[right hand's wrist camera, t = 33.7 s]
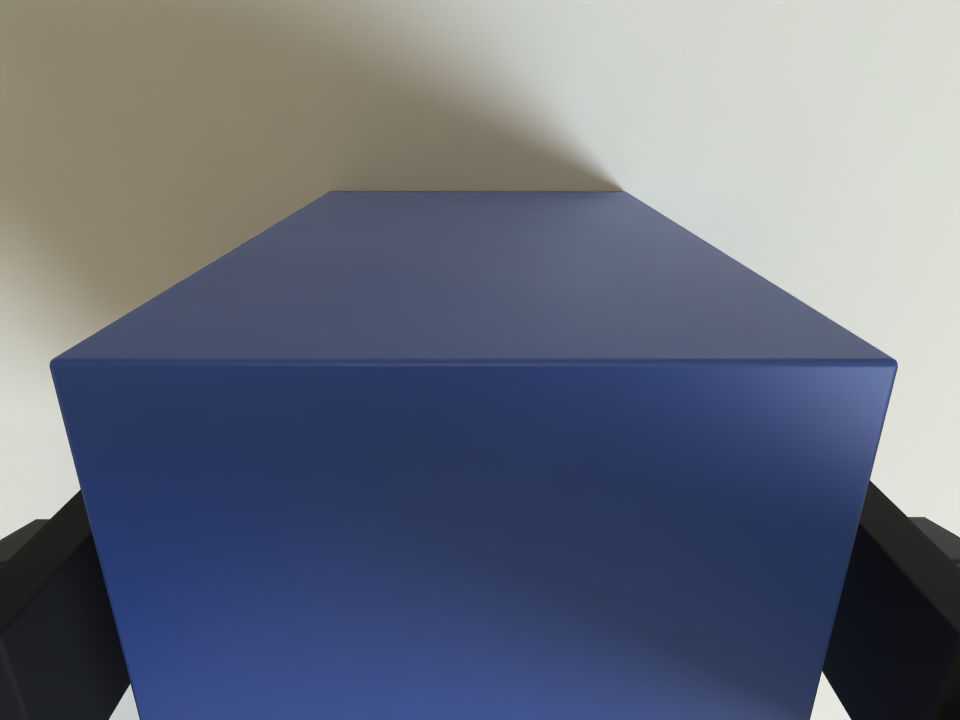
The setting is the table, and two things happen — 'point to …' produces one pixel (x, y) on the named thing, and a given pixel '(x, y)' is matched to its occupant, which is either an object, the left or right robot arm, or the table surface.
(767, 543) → the block
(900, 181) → the table surface
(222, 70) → the table surface
